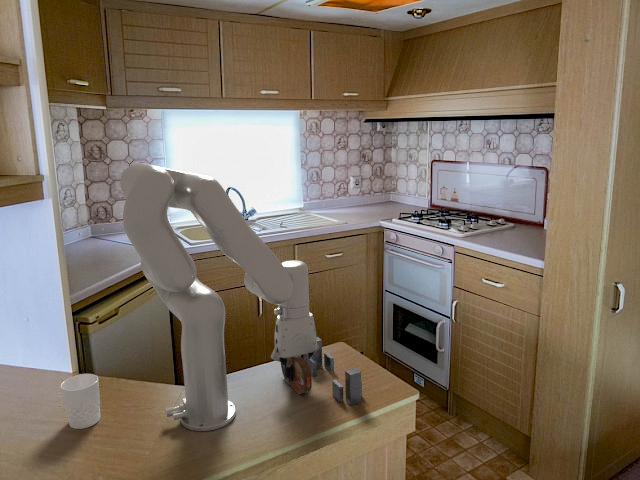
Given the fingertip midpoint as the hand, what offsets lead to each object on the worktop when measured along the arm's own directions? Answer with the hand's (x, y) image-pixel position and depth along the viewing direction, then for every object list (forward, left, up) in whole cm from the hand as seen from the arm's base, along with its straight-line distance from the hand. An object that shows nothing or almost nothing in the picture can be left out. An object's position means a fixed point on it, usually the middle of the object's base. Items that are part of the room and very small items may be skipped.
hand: (296, 376), depth 133 cm
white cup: (-50, +9, -3) cm, 51 cm away
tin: (0, 0, -3) cm, 3 cm away
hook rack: (+9, -3, -3) cm, 10 cm away
